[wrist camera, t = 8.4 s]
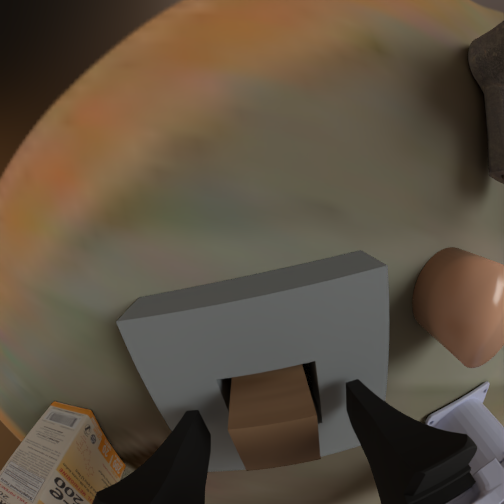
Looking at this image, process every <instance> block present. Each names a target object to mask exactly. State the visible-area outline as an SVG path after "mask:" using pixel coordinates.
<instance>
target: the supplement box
mask: <svg viewBox="0 0 504 504" xmlns="http://www.w3.org/2000/svg"><path fill="white" fill-rule="evenodd" d="M124 469H125V464H124V463H123V461H122V460H121V459H120V457H119V456H118V454H117V453H116V452H115V450H114V449H113V447H112V446H111V444H110V443H109V441H108V440H107V438H106V437H105V435H104V433H103V432H102V430H101V428H100V426H99V424H98V422H97V420H96V418H95V416H94V414H93V412H92V411H91V410H90V409H85V408H80V407H76V406H71V405H68V404H63V403H59V402H56V401H54V402H53V403H52V404H51V405H50V406H49V408H48V409H47V410H46V411H45V413H44V414H43V415H42V416H41V418H40V419H39V420H38V421H37V423H36V424H35V425H34V427H33V428H32V429H31V430H30V432H29V433H28V434H27V436H26V437H25V438H24V440H23V441H22V442H21V444H20V445H19V447H18V448H17V449H16V451H15V452H14V453H13V455H12V456H11V458H10V459H9V460H8V462H7V463H6V464H5V466H4V467H3V469H2V470H1V472H0V504H92V503H93V500H94V498H95V495H96V493H97V492H98V491H101V490H103V489H105V488H107V487H109V486H111V485H113V484H115V483H117V482H119V481H120V479H121V477H122V474H123V472H124Z"/></svg>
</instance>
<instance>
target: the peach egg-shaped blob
mask: <svg viewBox="0 0 504 504" xmlns="http://www.w3.org/2000/svg"><path fill="white" fill-rule="evenodd" d="M412 308H413V314H414V317H415V319H416V321H417V322H418V324H419V325H420V326H421V327H423V328H424V329H425V330H426V331H427V332H428V333H430V334H431V335H432V336H433V337H434V338H435V339H436V340H437V341H439V342H440V343H441V344H442V345H443V346H444V347H445V348H446V349H447V350H449V351H450V352H451V353H452V354H453V355H454V356H455V357H456V358H457V359H458V360H459V361H461V362H462V363H463V364H464V365H465V366H466V367H469V368H475V367H479V366H481V365H483V364H485V363H486V362H487V361H489V360H490V359H491V358H492V357H494V356H495V354H496V353H497V352H498V351H499V350H500V349H501V348H502V346H503V345H504V265H502V264H500V263H497V262H494V261H492V260H489V259H486V258H484V257H481V256H478V255H476V254H473V253H470V252H467V251H464V250H461V249H459V248H454V247H450V248H445V249H443V250H441V251H439V252H437V253H436V254H435V255H434V256H433V257H432V258H431V259H430V260H429V261H428V262H427V263H426V265H425V266H424V268H423V269H422V271H421V273H420V275H419V277H418V279H417V282H416V284H415V288H414V292H413V299H412Z"/></svg>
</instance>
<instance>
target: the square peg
mask: <svg viewBox="0 0 504 504" xmlns="http://www.w3.org/2000/svg"><path fill="white" fill-rule="evenodd" d="M228 432H229V434H230V436H231V439H232V441H233V443H234V445H235V447H236V450H237V452H238V454H239V456H240V458H241V460H242V462H243V464H244V466H245V468H246V471H249V470H259V469H267V468H275V467H281V466H288V465H293V464H299V463H304V462H309V461H313V460H318V459H321V458H320V444H319V432H318V421H317V414H316V410H315V407H314V403H313V400H312V396H311V393H310V390H309V386H308V383H307V379H306V376H305V372H304V369H303V366H302V364H300V365H296V366H291V367H287V368H282V369H277V370H272V371H267V372H262V373H256V374H250V375H244V376H238V377H232V380H231V393H230V405H229V418H228Z"/></svg>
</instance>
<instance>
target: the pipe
mask: <svg viewBox="0 0 504 504" xmlns="http://www.w3.org/2000/svg"><path fill="white" fill-rule="evenodd" d="M468 61H469V66H470V69H471V72H472V74H473V76H474V78H475V79H476V81H477V83H478V84H479V86H480V88H481V90H482V91H483V93H484V102H485V112H486V125H487V139H488V166H489V176H490V177H492V178H494V179H495V180H497V181H499V182H501V183H503V184H504V21H502V22H501V23H500V24H499V25H497V26H496V27H495V28H493V29H492V30H490V31H489V32H487V33H485V34H484V35H482V36H480V37H479V38H477V39H475V40H474V41H472V43H471V44H470V47H469V51H468Z"/></svg>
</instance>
